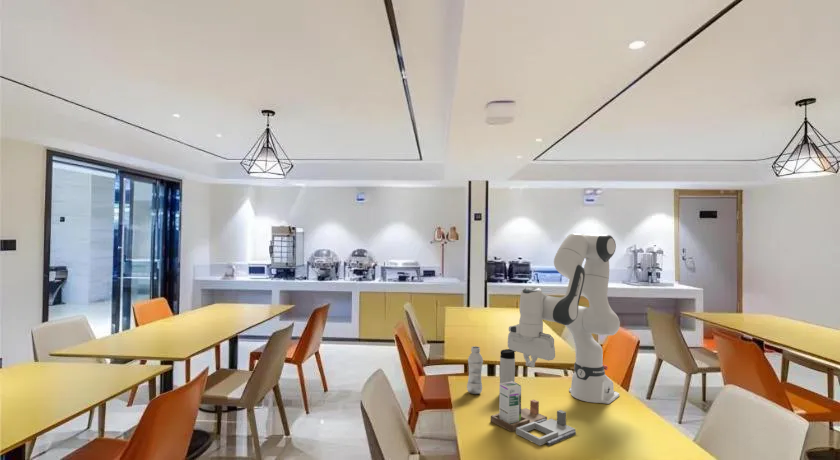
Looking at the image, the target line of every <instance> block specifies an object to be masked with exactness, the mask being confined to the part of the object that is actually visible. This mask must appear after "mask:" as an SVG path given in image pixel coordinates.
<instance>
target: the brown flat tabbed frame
mask: <svg viewBox="0 0 840 460" xmlns="http://www.w3.org/2000/svg"><path fill="white" fill-rule="evenodd" d="M529 401H530V403H529V405H530V406H529V407H530V408H528V407H524V408H521V421H519V422H516V423H513V424H509V423H507V422H505V421H503V420H501V419H499V412H498V413H495V414H492V415H490V422H491V423H493V424H496V425H497V426H499V427H502V428H503V429H505V430H507V431H509V432H516V428H517V427H520V426H523V425H526V424H529V423H531V422H536V421H539V420H542V419H547V420H548V417H547V416H546V415H543V414H541V413H540V411H539V410H540V409H539V407H540V402H539V401H538V400H536V399H531V400H529Z"/></svg>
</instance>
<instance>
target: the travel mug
mask: <svg viewBox="0 0 840 460" xmlns="http://www.w3.org/2000/svg"><path fill="white" fill-rule="evenodd" d="M516 353H517V351H513V350H510V349H509V348H506V349H502V350H500V357H499V358H500V359H499V360H500V361H499V384H500V383H504V382H511V381H513V382H515V383H516V381H515V380H516V379H515V375H516V373H515V372H516V370H515V369H516V365H515V364H516V360H515V359H516Z"/></svg>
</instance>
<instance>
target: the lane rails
mask: <svg viewBox="0 0 840 460" xmlns="http://www.w3.org/2000/svg"><path fill="white" fill-rule="evenodd" d="M546 420H548V418H547V419H542V420H539V421H536V423H541V422H544V421H546ZM576 434H577V432H576V430H575V431H571V432H569V433H566V434H564V435H561V436H559V437H557V438H554V439H552V440H549V441H547V443H545V444H546V446H548V447H550V446H553V445H554V444H557V443H560V442H561V441H564V440H567V439H569V438H571V437H574V436H576Z"/></svg>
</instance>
